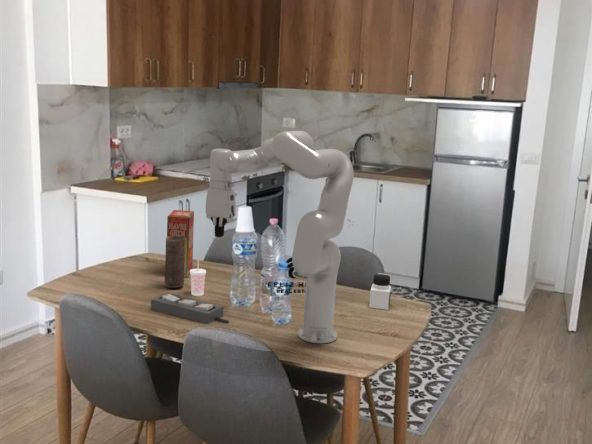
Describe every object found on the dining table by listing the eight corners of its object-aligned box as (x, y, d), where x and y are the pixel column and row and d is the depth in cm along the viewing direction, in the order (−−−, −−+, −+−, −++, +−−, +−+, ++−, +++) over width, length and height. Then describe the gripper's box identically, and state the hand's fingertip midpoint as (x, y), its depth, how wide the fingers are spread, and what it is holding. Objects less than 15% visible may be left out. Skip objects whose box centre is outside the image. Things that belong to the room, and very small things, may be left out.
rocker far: (179, 301, 225) (180, 298, 225) (172, 304, 222) (173, 301, 222) (168, 296, 227) (168, 293, 227) (161, 299, 224) (162, 296, 224)
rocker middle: (196, 304, 222) (196, 300, 222) (189, 307, 219) (189, 303, 218) (184, 302, 224) (184, 298, 224) (178, 305, 221) (177, 301, 221)
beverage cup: (186, 292, 242) (186, 256, 239) (200, 290, 246) (200, 254, 243) (194, 297, 237) (195, 260, 234) (208, 294, 241) (209, 258, 238)
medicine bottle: (388, 310, 235) (391, 278, 233) (369, 307, 236) (371, 276, 234) (389, 304, 242) (392, 273, 239) (370, 301, 243) (373, 271, 241)
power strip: (235, 319, 218) (235, 309, 218) (220, 327, 211) (220, 317, 210) (167, 301, 231) (167, 292, 231) (150, 308, 224) (151, 299, 223)
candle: (186, 289, 246) (186, 238, 241) (166, 291, 243) (167, 239, 239) (181, 283, 252) (182, 233, 248) (163, 284, 250) (163, 234, 245)
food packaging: (188, 278, 260) (189, 217, 254) (164, 276, 260) (165, 216, 254) (193, 268, 273) (194, 210, 267) (171, 267, 273) (172, 209, 267)
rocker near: (213, 307, 219) (212, 304, 218) (206, 310, 216) (206, 307, 215) (201, 307, 221) (200, 303, 221) (194, 310, 218) (194, 306, 218)
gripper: (244, 186, 222) (243, 237, 226) (209, 181, 229) (208, 231, 233) (232, 188, 216) (231, 242, 220) (196, 183, 222) (195, 235, 226)
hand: (219, 236), depth 226 cm, fingers closed
